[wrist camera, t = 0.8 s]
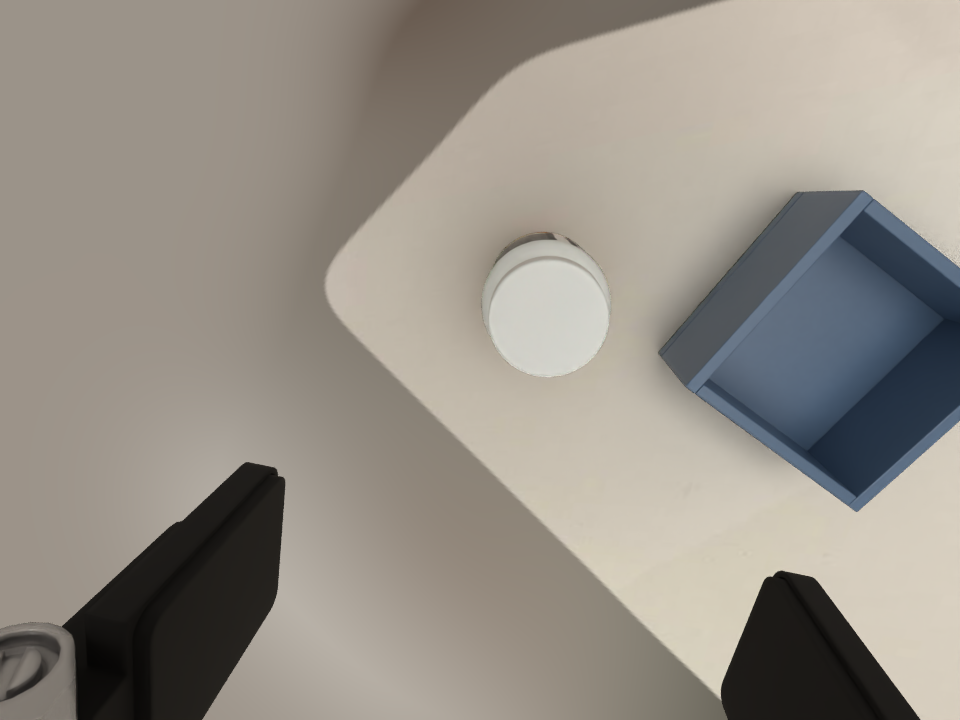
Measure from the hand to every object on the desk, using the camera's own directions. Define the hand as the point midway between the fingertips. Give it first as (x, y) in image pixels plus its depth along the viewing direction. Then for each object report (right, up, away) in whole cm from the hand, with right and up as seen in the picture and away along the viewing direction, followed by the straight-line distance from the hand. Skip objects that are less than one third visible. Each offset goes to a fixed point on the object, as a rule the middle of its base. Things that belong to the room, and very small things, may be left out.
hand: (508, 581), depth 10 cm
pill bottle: (+3, +9, +20) cm, 22 cm away
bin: (+17, +6, +19) cm, 26 cm away
